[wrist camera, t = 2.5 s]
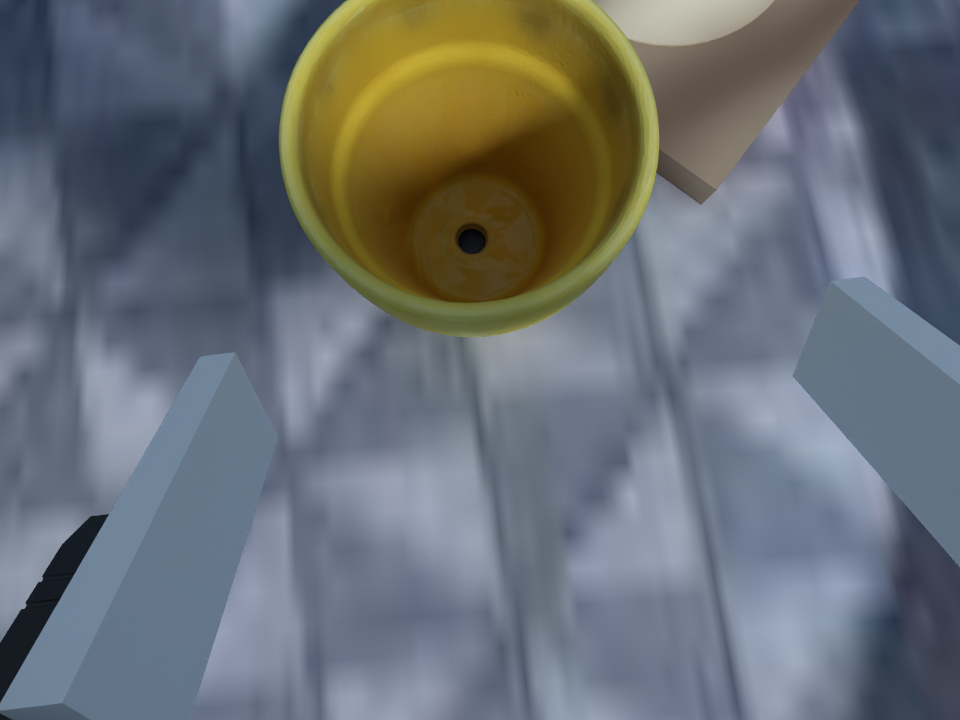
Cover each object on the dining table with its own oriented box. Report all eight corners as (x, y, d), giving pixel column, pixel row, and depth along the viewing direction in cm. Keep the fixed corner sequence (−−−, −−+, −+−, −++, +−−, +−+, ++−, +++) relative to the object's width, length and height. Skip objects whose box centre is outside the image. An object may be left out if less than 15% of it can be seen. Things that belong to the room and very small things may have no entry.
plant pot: (328, 318, 23) (212, 246, 13) (405, 112, 24) (351, -96, 14) (547, 391, 22) (597, 375, 13) (616, 179, 23) (712, 12, 14)
